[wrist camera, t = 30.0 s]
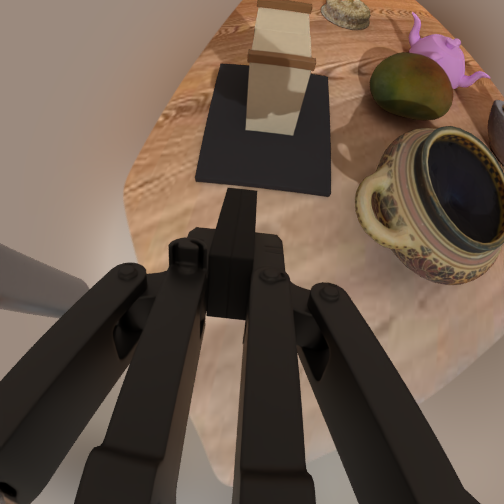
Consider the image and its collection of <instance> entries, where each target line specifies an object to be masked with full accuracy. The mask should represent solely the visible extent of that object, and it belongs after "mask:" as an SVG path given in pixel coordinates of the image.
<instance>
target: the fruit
mask: <svg viewBox="0 0 504 504" xmlns="http://www.w3.org/2000/svg"><path fill="white" fill-rule="evenodd" d="M370 90H371V93H372V96H373V98H374V100H375V101H376V103H377V104H378V105H379V106H380V107H381V108H383V109H384V110H386V111H388V112H390V113H392V114H395V115H399V116H402V117H406V118H411V119H417V120H434V119H437V118H440V117H442V116H443V115H445V114H446V113H447V112H448V110H449V109H450V107H451V105H452V101H453V88H452V84H451V82H450V80H449V77H448V75H447V74H446V72H445V71H444V69H443V68H442V67H441V66H440V65H439V64H438V63H437V62H435V61H434V60H433V59H431V58H429V57H427V56H424V55H421V54H416V53H407V52H403V53H397V54H394V55H392V56H390V57H388V58H386V59H385V60H383V61H382V62H381V63H380V64H379V65H378V66H377V67H376V68H375V70H374V72H373V74H372V76H371V78H370Z"/></svg>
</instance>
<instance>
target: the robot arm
mask: <svg viewBox="0 0 504 504" xmlns="http://www.w3.org/2000/svg"><path fill="white" fill-rule="evenodd" d="M256 204H257V191H254V190H245V189H235V188H228V189H227V192H226V195H225V199H224V202H223V206H222V209H221V212H220V216H219V219H218V223H217V226H216V229H209V228H199V227H196V228H195V229H193V230H192V231H190V232H189V234H188V237H187V238H180V239H176V240H174V241H172V242H171V243H170V244H169V268H168V270H167V271H164V272H160V273H152V274H146V269H145V268H144V267H143V266H142V265H140V264H137V263H123V264H120V265H117V266H116V267H114V268H113V269H111V270H110V271H109V272H108V273H107V274H106V275H105V276H104V277H103V278H102V279H101V280H99V281H98V282H97V283H96V284H95V285H94V286H93V287H92V288H91V289H90V290H89V291H88V292H87V293H86V294H85V295H83V296H82V297H81V298H80V299H79V300H78V301H77V302H76V303H75V304H74V305H73V306H72V307H71V308H70V309H69V310H68V311H67V312H66V313H65V314H64V315H63V316H62V317H61V318H60V319H59V320H58V321H57V322H56V323H55V324H54V325H53V326H52V327H51V328H50V329H49V330H48V331H47V332H46V333H45V334H44V335H43V336H42V337H41V338H40V339H39V340H38V341H37V342H36V343H35V344H34V346H33V347H31V349H30V350H29V351H28V352H27V353H26V354H25V355H24V356H23V357H22V358H21V359H20V360H19V361H18V362H17V364H16V365H15V366H14V367H13V368H12V369H11V370H10V371H9V372H8V373H7V375H6V376H5V377H4V378H3V379H2V380H1V381H0V504H30V503H31V502H32V501H33V500H34V499H35V498H36V497H37V496H38V495H39V494H40V493H41V492H42V490H43V489H44V488H45V486H46V485H47V484H48V482H49V481H50V479H51V477H52V476H53V474H54V473H55V471H56V470H57V468H58V467H59V465H60V464H61V462H62V461H63V459H64V458H65V456H66V455H67V453H68V452H69V450H70V449H71V447H72V446H73V444H74V443H75V441H76V440H77V438H78V437H79V435H80V434H81V432H82V431H83V430H84V428H85V427H86V425H87V424H88V422H89V421H90V419H91V418H92V416H93V415H94V414H95V412H96V411H97V409H98V408H99V406H100V405H101V403H102V402H103V401H104V399H105V397H106V396H107V395H108V393H109V392H110V391H111V389H112V388H113V386H114V385H115V383H116V382H117V381H118V379H119V378H120V376H121V375H122V373H123V372H124V371H125V369H126V368H127V367H128V365H129V364H130V365H129V368H128V371H127V373H126V376H125V379H124V382H123V385H122V387H121V390H120V393H119V396H118V399H117V402H116V405H115V408H114V411H113V414H112V417H111V420H110V423H109V426H108V429H107V432H106V436H105V439H104V441H103V443H102V444H101V445H100V446H97V447H94V448H93V449H92V451H91V452H90V454H89V456H88V459H87V461H86V464H85V467H84V471H83V474H82V477H81V480H80V484H79V488H78V491H77V494H76V498H75V502H74V504H176V488H177V480H178V475H179V469H180V462H181V456H182V450H183V444H184V438H185V432H186V426H187V420H188V415H189V409H190V404H191V398H192V393H193V387H194V382H195V376H196V371H197V366H198V360H199V355H200V350H201V345H202V339H203V334H204V329H205V315H206V311H207V316H212V317H220V318H229V319H239V320H246V321H245V329H244V337H243V356H242V370H241V383H240V397H239V411H238V425H237V439H236V453H235V467H234V482H233V496H232V504H316V500H315V487H314V481H313V479H312V476H311V475H310V474H309V473H308V472H307V469H306V463H305V447H304V431H303V417H302V404H301V391H300V379H299V367H298V356H297V353H298V355H299V358H300V360H301V363H302V365H303V368H304V370H305V373H306V375H307V377H308V380H309V382H310V385H311V387H312V390H313V392H314V395H315V397H316V399H317V402H318V404H319V407H320V409H321V412H322V414H323V417H324V419H325V422H326V424H327V426H328V429H329V431H330V434H331V436H332V439H333V441H334V444H335V446H336V449H337V451H338V454H339V456H340V459H341V461H342V463H343V466H344V468H345V471H346V473H347V476H348V478H349V481H350V483H351V486H352V488H353V491H354V493H355V495H356V498H357V501H358V503H359V504H480V503H479V502H478V501H477V500H476V499H475V498H474V497H473V496H472V495H471V494H469V493H468V492H467V491H466V490H465V489H464V487H463V485H462V484H461V482H460V480H459V478H458V476H457V474H456V472H455V470H454V469H453V467H452V465H451V463H450V461H449V459H448V458H447V456H446V454H445V452H444V450H443V448H442V446H441V445H440V443H439V441H438V439H437V437H436V436H435V434H434V432H433V431H432V429H431V427H430V425H429V423H428V422H427V420H426V418H425V417H424V415H423V414H422V411H421V410H420V408H419V406H418V404H417V403H416V401H415V399H414V398H413V396H412V394H411V393H410V391H409V389H408V388H407V386H406V384H405V383H404V381H403V380H402V378H401V376H400V375H399V373H398V371H397V370H396V368H395V367H394V365H393V363H392V362H391V360H390V359H389V357H388V355H387V354H386V352H385V351H384V349H383V347H382V346H381V344H380V343H379V341H378V340H377V338H376V336H375V335H374V333H373V332H372V330H371V329H370V327H369V326H368V324H367V323H366V321H365V320H364V318H363V316H362V315H361V313H360V312H359V310H358V309H357V307H356V306H355V304H354V303H353V301H352V300H351V298H350V297H349V295H348V294H347V293H346V292H345V291H344V289H343V288H341V287H339V286H337V285H335V284H332V283H323V282H322V283H317V284H315V285H314V286H312V288H311V290H308V289H304V288H301V287H299V286H296V285H295V284H293V283H292V282H291V281H290V278H289V276H288V274H287V273H286V272H285V264H284V254H283V244H282V240H281V239H280V238H279V237H278V236H277V235H274V234H265V233H255V225H256Z"/></svg>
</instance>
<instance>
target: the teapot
mask: <svg viewBox="0 0 504 504" xmlns="http://www.w3.org/2000/svg"><path fill="white" fill-rule="evenodd" d="M412 14H413V17H414V26H413V28H412V30H411V32H410V34H409V43H410V45H411V48H410V51H409V53H416V54H421V55H424V56H427V57H429V58H431V59H433V60H434V61H435V62H437V63H438V64H439V65H440V66H441V67H442V68H443V69H444V71H445V72H446V74H447V75H448V77H449V80H450V82H451V84H452V88H453V89H455V88H457V87H458V86H460V87H468V86H470V85H472V84H473V83H474V82H475V81H476V80H478V79H479V78H482V77H486V78H490V76H488V75H487V74H486V73H484V72H481V71H478V72H475V73H474V74H473V75H471V76H465V75H464V73H465V59H464V55H463V52H462V51H461V49H460V48H459V46H460V44H461V41H460V40H459V39H457V38H456V39H454V40H453V39H451V38H449V37H445V36H442V35H439V34H434V35H430V36H427V37H424V38H422V39H421V38H420V36H419V30H420V27H421V21H420V19H419V18H418V16H417V15H416V14H415V13H413V12H412Z"/></svg>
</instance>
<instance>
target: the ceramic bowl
mask: <svg viewBox="0 0 504 504" xmlns="http://www.w3.org/2000/svg"><path fill="white" fill-rule="evenodd" d="M373 193H374V203H375V209H376V215H377V219H378V220H377V219H376V218H375V215H374V213H373V210H372V206H371V196H372V194H373ZM355 209H356V213H357V217H358V220H359V222H360V224H361V226H362V227H363V229H364V231H365V232H366V233H367V234H368V235H369V236H370V237H372V238H373V239H374V240H375V241H376V242H377V243H379V244H380V245H382V246H384V247H387V248H390V249H392V251H393V252H394V253H395V255H396V256H397V257H398V258H399V259H400V260H401V261H402V263H403V264H404V265H405V266H406V267H408V268H409V269H411V270H412V271H413V272H415V273H416V274H418V275H419V276H421V277H423V278H425V279H427V280H430V281H432V282H435V283H440V284H445V285H458V284H464V283H467V282H470V281H473V280H475V279H477V278H478V277H480V276H482V275H483V274H484V273H486V272H487V271H488V269H489V268H490V267H491V266H492V265H493V264H494V262H495V261H496V259H497V257H498V255H499V253H500V251H501V248H502V245H503V243H504V173H503V171H502V169H501V167H500V165H499V163H498V162H497V160H496V158H495V157H494V155H493V154H492V153H491V151H490V150H489V149H488V148H487V147H486V146H485V145H484V144H483V143H482V142H481V141H480V140H479V139H478V138H476V137H475V136H474V135H472V134H471V133H469V132H467V131H464V130H462V129H460V128H457V127H453V126H445V127H440V128H438V129H431V128H422V129H415V130H412V131H409V132H407V133H405V134H403V135H401V136H400V137H398V138H397V139H396V140H394V141H393V142H392V144H391V145H390V146H389V147H388V148H387V149H386V150H385V152H384V154H383V156H382V158H381V160H380V162H379V165H378V168H377V172H375V173H374V174H372V175H370V176H368V177H366V178H365V179H364V180H363V181H362V183H361V184H360V185H359V187H358V190H357V192H356V197H355Z"/></svg>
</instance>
